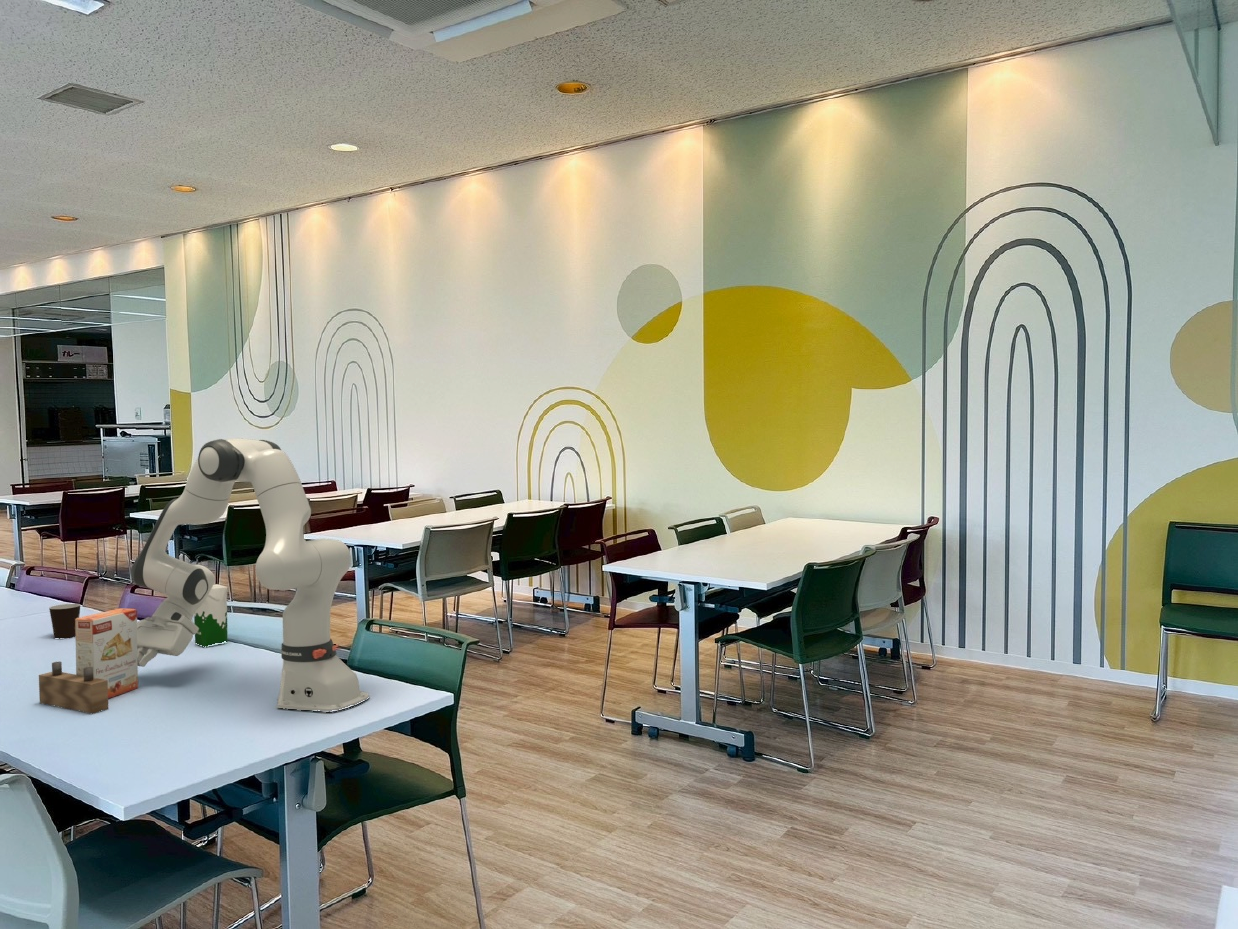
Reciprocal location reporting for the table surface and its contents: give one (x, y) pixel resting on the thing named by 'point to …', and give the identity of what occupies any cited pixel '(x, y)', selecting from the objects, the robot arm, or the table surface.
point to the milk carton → (212, 617)
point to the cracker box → (109, 648)
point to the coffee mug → (64, 619)
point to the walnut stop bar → (73, 690)
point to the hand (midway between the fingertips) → (138, 665)
